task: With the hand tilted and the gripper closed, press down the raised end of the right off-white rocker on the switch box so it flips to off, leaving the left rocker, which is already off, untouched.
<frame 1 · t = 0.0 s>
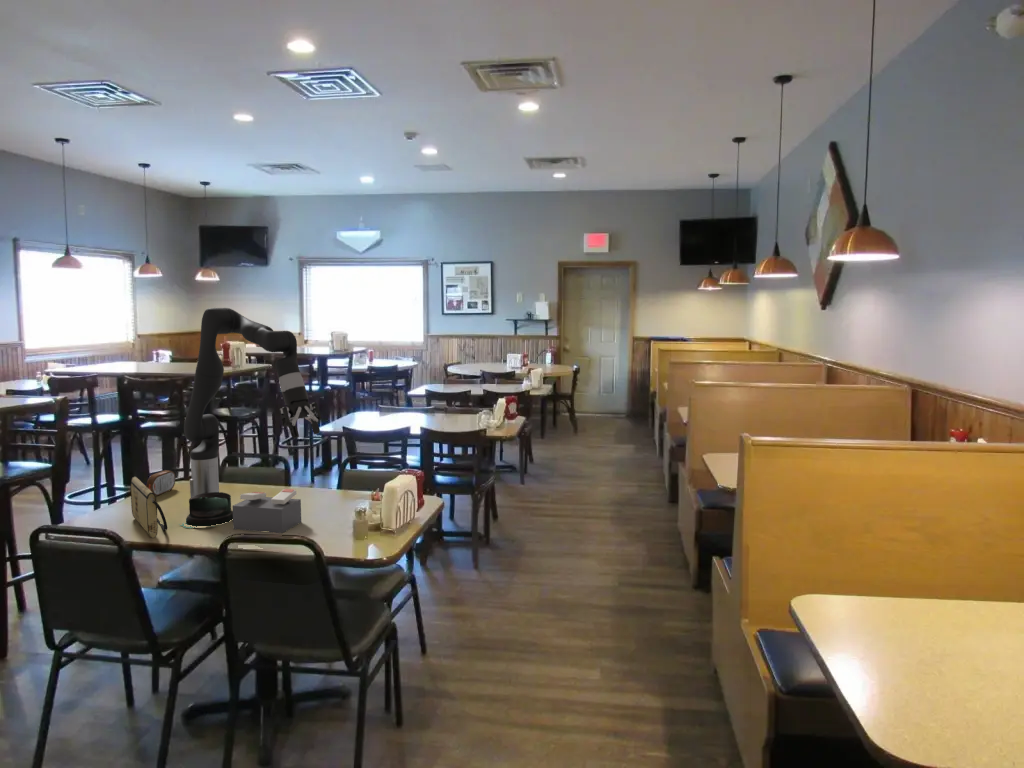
hand: (306, 435, 226), 31 cm above the table, tool tilted 20°, fingers open, 8 cm apart
tin: (162, 493, 273), on the table
left rocker: (253, 495, 232), point 10 cm above the table, hinge at -10.0°
switch box: (267, 525, 233), on the table
clutch purse: (151, 527, 232), on the table
right rocker: (284, 496, 232), point 10 cm above the table, hinge at 10.0°
dark green hat: (211, 521, 239), on the table
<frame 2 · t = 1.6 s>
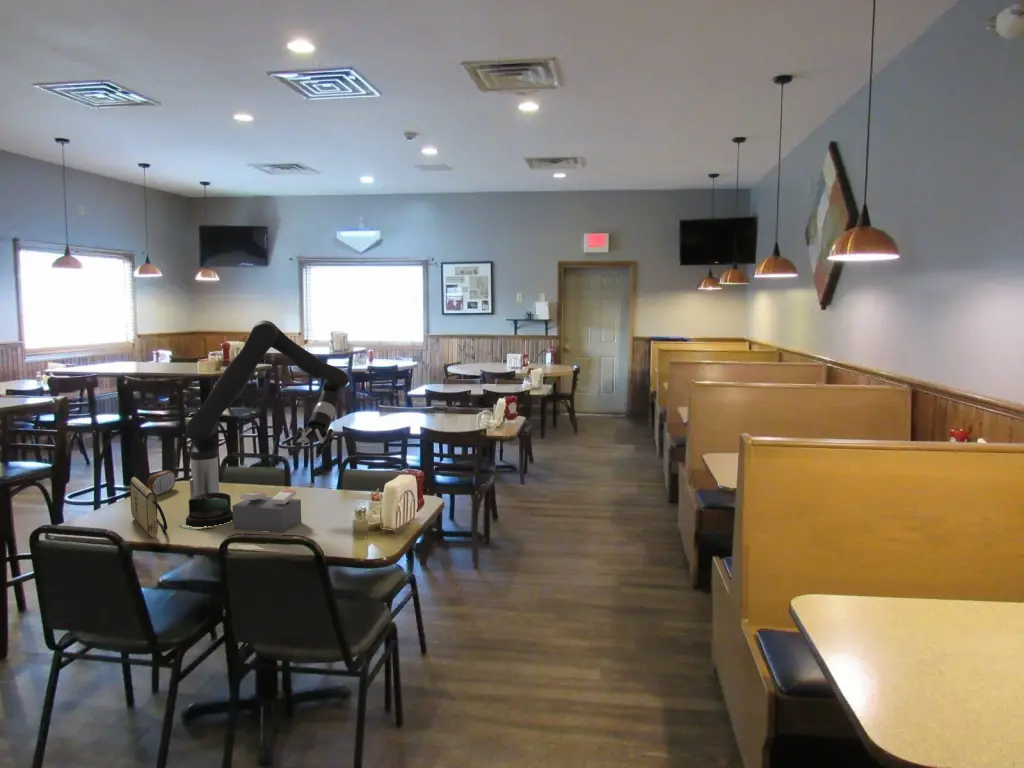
hand: (307, 453, 246), 21 cm above the table, tool tilted 45°, fingers open, 8 cm apart
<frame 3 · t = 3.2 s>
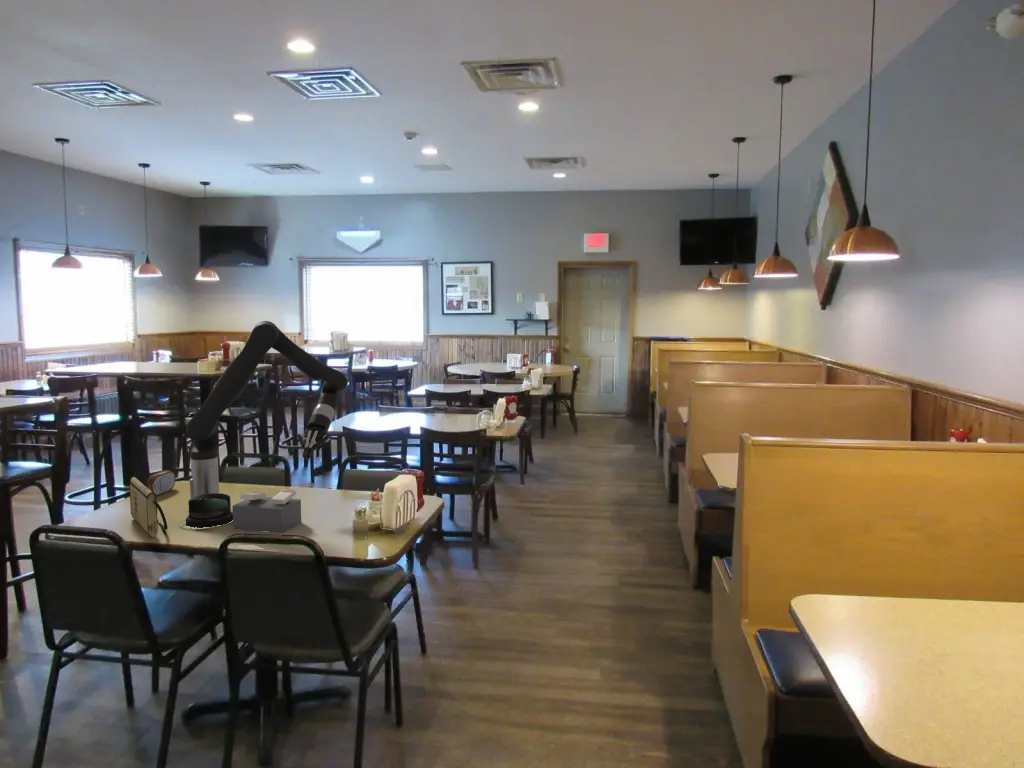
hand: (305, 458, 245), 20 cm above the table, tool tilted 45°, fingers closed
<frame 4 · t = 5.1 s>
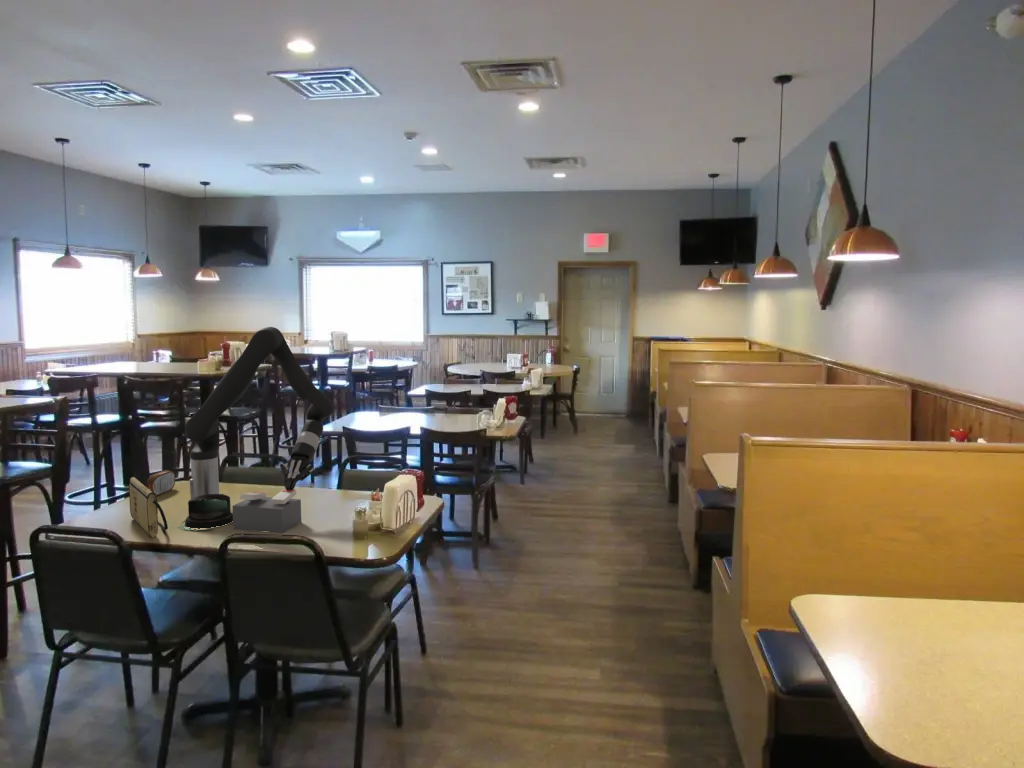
hand: (288, 489, 234), 12 cm above the table, tool tilted 45°, fingers closed
right rocker: (284, 496, 232), point 10 cm above the table, hinge at 9.8°, touching gripper
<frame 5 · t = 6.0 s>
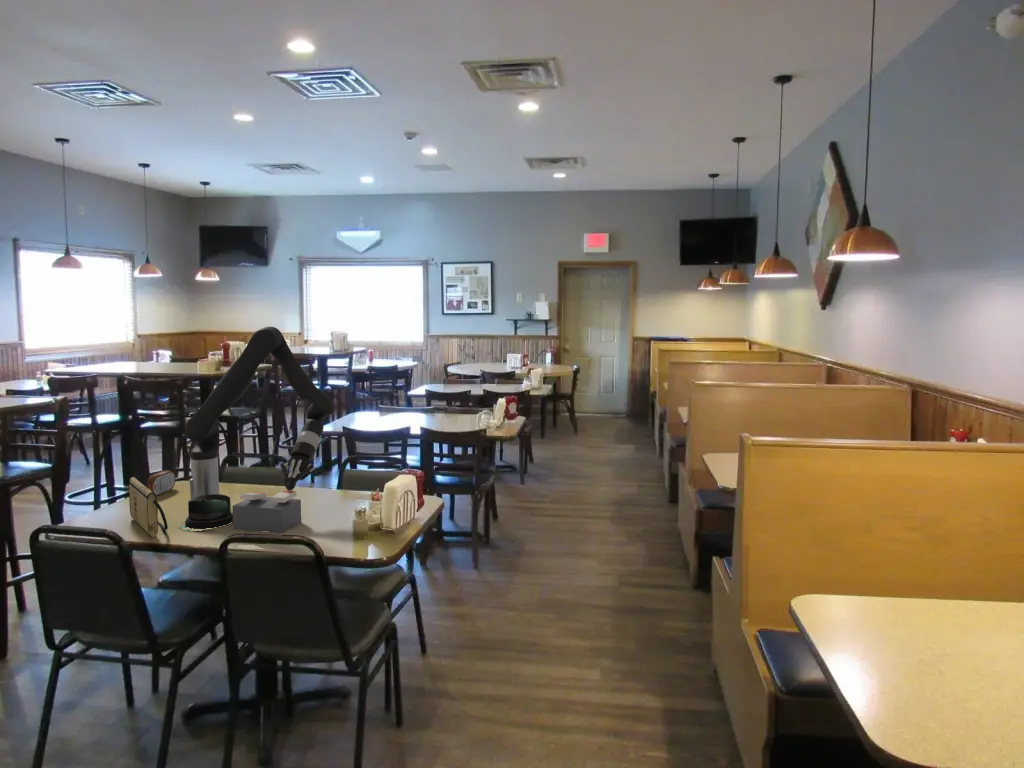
hand: (288, 489, 235), 12 cm above the table, tool tilted 45°, fingers closed
right rocker: (284, 496, 232), point 10 cm above the table, hinge at 1.4°
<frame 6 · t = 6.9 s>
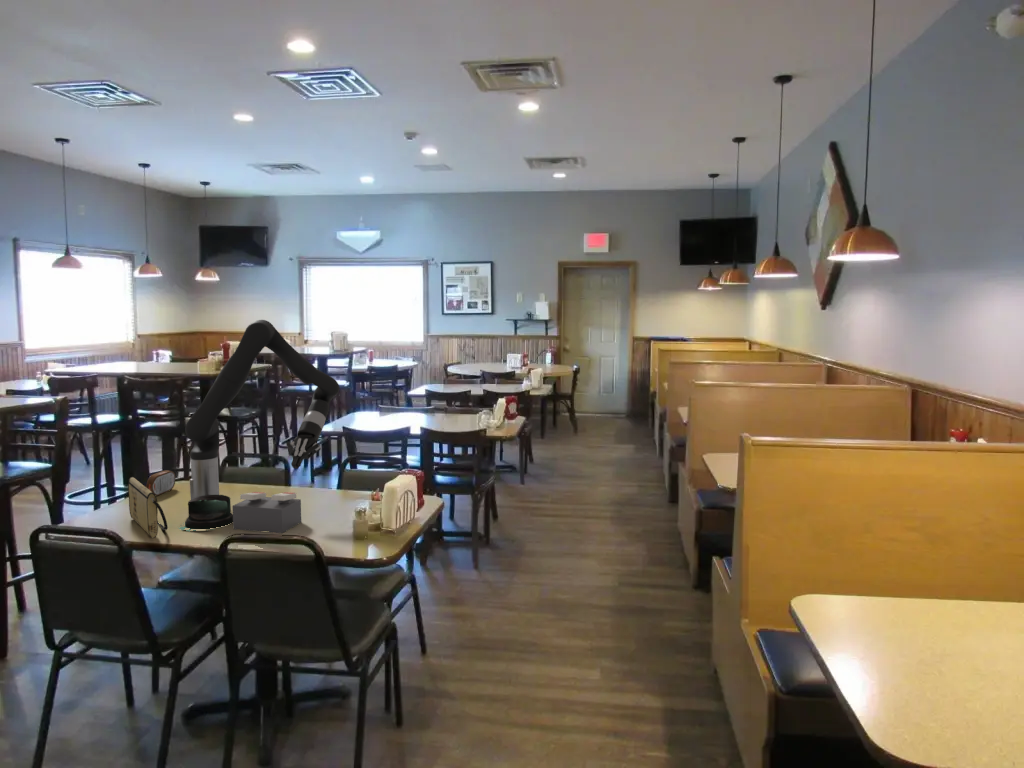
hand: (294, 467, 238), 18 cm above the table, tool tilted 45°, fingers closed
right rocker: (284, 496, 232), point 10 cm above the table, hinge at -9.0°
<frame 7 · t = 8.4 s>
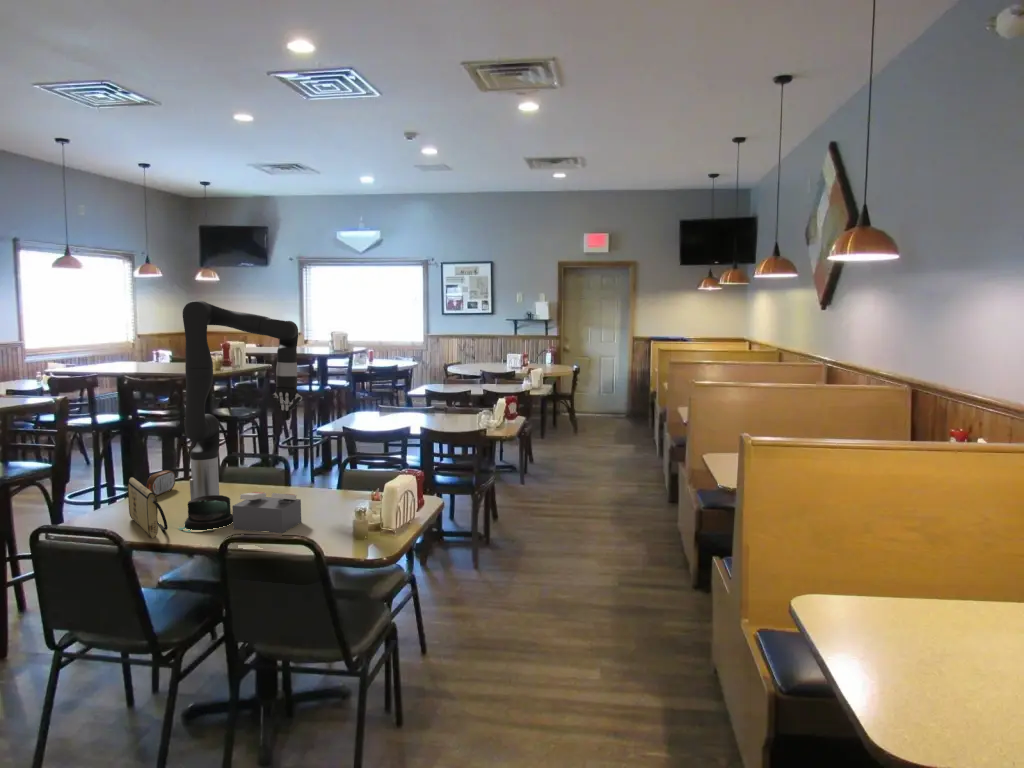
hand: (286, 420, 260), 31 cm above the table, tool pointing down, fingers closed
right rocker: (284, 496, 232), point 10 cm above the table, hinge at -18.7°, touching switch box
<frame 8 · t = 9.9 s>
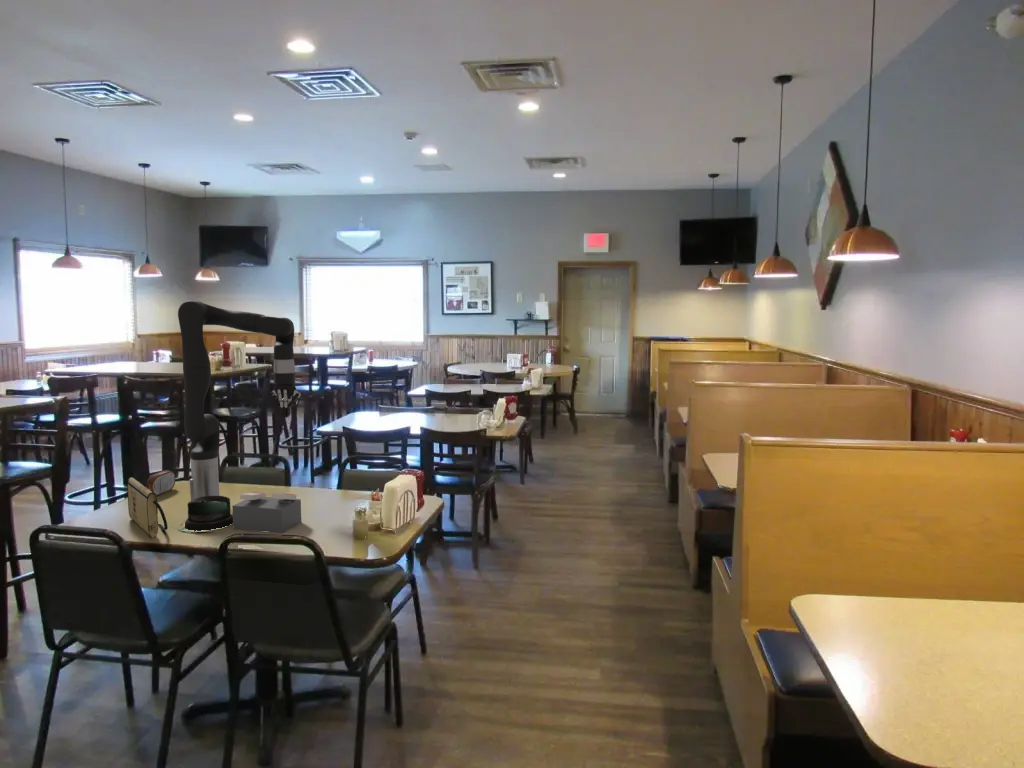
hand: (285, 417, 260), 32 cm above the table, tool pointing down, fingers closed
right rocker: (284, 496, 232), point 10 cm above the table, hinge at -17.1°
at the end: right rocker at -17° (first picture: +10°); left rocker at -10° (first picture: -10°) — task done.
